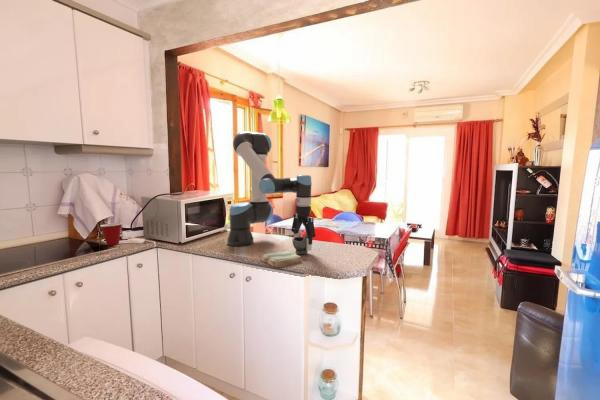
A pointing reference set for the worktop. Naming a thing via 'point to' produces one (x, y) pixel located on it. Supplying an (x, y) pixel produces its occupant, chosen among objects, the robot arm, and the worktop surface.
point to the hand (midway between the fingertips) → (302, 247)
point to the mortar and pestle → (300, 244)
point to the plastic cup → (112, 233)
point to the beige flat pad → (280, 258)
